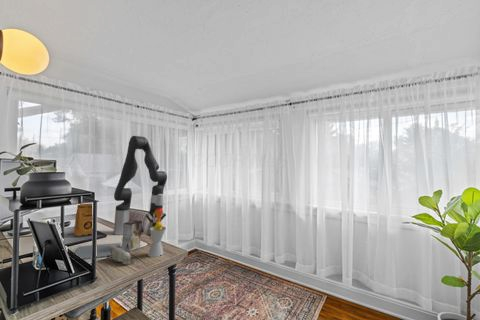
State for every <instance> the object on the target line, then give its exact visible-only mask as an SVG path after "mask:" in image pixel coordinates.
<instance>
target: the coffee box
mask: <svg viewBox="0 0 480 320" xmlns="http://www.w3.org/2000/svg"><path fill="white" fill-rule="evenodd" d="M142 224H143V221H142V220H136V219H133V220H130V221H128V222H126V223H124V225H123V234H122V238H121V241H122V242H121V249H123V250H124V251H126V252H132V251H133V250H135V249H138V248H140V247H141V239H142V238H141V237H142Z"/></svg>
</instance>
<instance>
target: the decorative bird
mask: <svg viewBox="0 0 480 320" xmlns="http://www.w3.org/2000/svg"><path fill="white" fill-rule="evenodd" d="M109 244H110V245H109V246H110V248H111V249H110V255H111V258H112V259H113V260H114V261H115V262H119V263H122V262H123V263H125V264H126V265H127V266H130V264H131V258H132V257H131V254H130V253H129V251H125V250H123V249H122V247H120V248H119V247H116V246H115V245H112V243H109ZM110 255H109V256H110ZM109 256H108V254H107V257H106V259H109V258H110V257H109Z"/></svg>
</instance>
